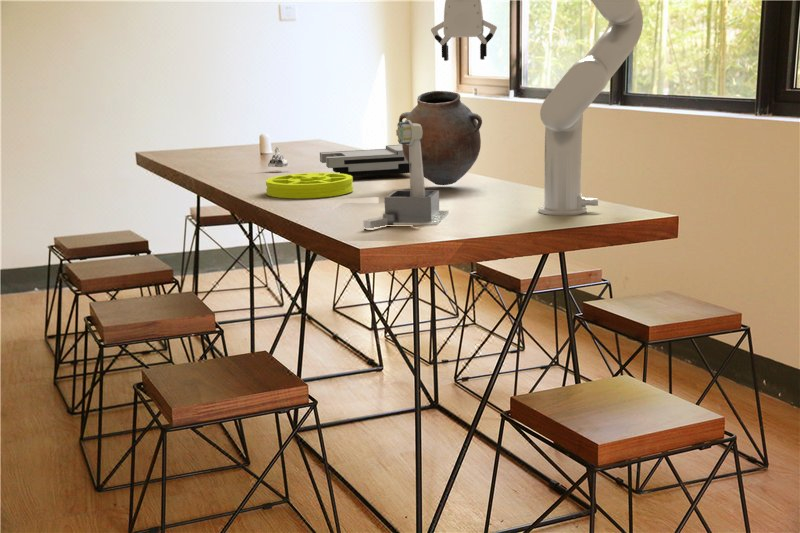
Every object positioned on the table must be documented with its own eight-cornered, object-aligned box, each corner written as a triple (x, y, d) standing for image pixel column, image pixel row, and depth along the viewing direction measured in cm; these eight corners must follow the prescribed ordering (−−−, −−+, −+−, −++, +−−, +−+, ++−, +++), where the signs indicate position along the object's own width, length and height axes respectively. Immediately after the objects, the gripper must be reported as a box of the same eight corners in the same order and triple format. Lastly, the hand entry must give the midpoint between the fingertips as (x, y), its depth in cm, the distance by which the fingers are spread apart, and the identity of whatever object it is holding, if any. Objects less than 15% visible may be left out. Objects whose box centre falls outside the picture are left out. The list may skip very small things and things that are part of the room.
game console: (320, 171, 354) (319, 149, 352) (404, 166, 361) (403, 144, 359) (328, 178, 334) (327, 155, 332) (416, 172, 341) (416, 150, 339)
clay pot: (402, 192, 295) (399, 94, 288) (400, 181, 319) (397, 90, 312) (485, 189, 295) (484, 91, 288) (477, 178, 320) (475, 88, 313)
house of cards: (298, 164, 376) (297, 145, 374) (286, 167, 369) (285, 147, 367) (280, 164, 380) (278, 144, 379) (267, 166, 373) (266, 147, 371)
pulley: (344, 183, 322) (343, 168, 321) (360, 194, 296) (360, 178, 294) (262, 188, 316) (261, 173, 314) (271, 200, 289) (270, 184, 288)
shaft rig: (452, 210, 260) (451, 185, 259) (433, 231, 232) (432, 203, 230) (389, 210, 264) (388, 185, 262) (362, 230, 236) (361, 203, 234)
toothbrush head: (430, 216, 246) (427, 119, 241) (407, 219, 244) (404, 121, 238) (421, 213, 251) (418, 118, 245) (398, 216, 248) (395, 120, 243)
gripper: (427, -7, 245) (429, 61, 249) (494, -10, 241) (495, 59, 245) (432, -6, 252) (434, 60, 256) (498, -8, 248) (498, 58, 252)
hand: (464, 60), depth 250 cm, fingers open, 9 cm apart
